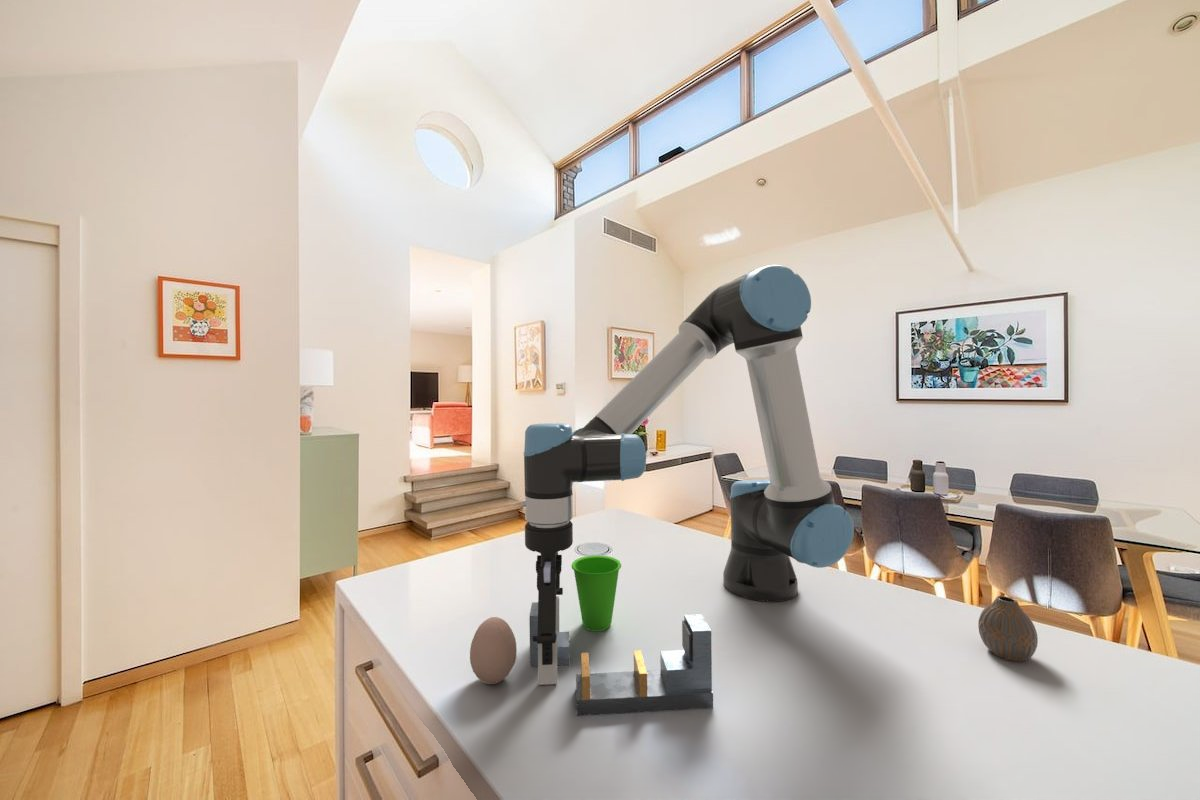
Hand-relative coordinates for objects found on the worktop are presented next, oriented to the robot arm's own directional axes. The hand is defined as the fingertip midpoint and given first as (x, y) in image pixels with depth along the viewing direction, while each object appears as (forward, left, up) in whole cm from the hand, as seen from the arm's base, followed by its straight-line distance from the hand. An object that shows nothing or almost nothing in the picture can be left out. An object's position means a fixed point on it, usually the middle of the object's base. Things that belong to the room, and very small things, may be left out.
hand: (549, 657), depth 71 cm
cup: (-8, -10, 0) cm, 13 cm away
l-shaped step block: (0, 0, 0) cm, 0 cm away
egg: (+8, +5, 0) cm, 9 cm away
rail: (-13, +11, 0) cm, 17 cm away
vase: (-72, +5, 0) cm, 72 cm away
